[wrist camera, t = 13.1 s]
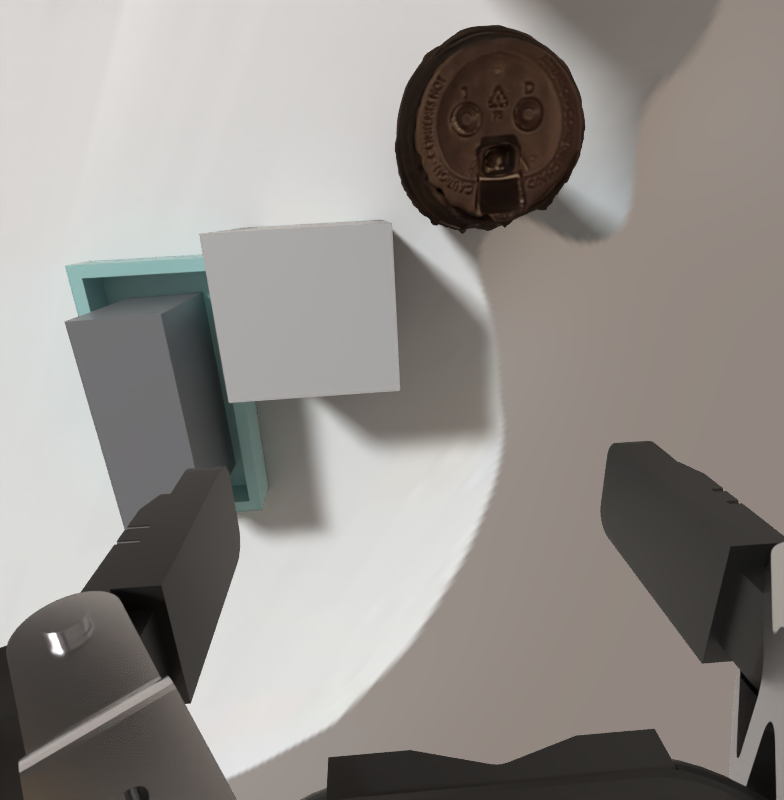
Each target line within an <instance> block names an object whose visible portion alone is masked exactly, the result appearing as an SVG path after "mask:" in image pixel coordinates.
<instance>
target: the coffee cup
mask: <svg viewBox="0 0 784 800" xmlns="http://www.w3.org/2000/svg"><path fill="white" fill-rule="evenodd" d="M584 130H585V119H584V112H583V109H582V99H581V95H580V92H579V90H578V88H577V85H576V83H575V81H574V79H573V77H572V75H571V72H570V70H569V68H568V66H567V65H566V64H565V62H564V61H563V60H562V59H560V58H559V57H558V56H557V55H556V54H555V53H554V52H552V51H551V50H550V49H549V48H548V47H546V46H545V45H543V44H541V43H540V42H538V41H537V40H535V39H534V38H533V37H532V36H530V35H528V34H526V33H523V32H521V31H518V30H515V29H510V28H506V27H504V26H500V25H491V26H476V27H470V28H466V29H463V30H460V31H459V32H457V33H456V34H455V35H453V36H452V37H450V38H449V39H448V40H446V41H445V42H444V43H443V44H442V45H440V46H438V47H436V48H434V49H433V50H431V51H430V52H428V53H427V54H426V55H425V56H424V58H423V61H422V62H421V64H420V65H419V66H418V68H417V69H416V71H415V72H414V74H413V75H412V77H411V78H410V80H409V82H408V84H407V85H406V88H405V91H404V94H403V97H402V101H401V105H400V109H399V113H398V119H397V137H396V142H395V153H396V160H397V165H398V172H399V176H400V178H401V184H402V186H403V188H404V190H405V191H406V193H407V196H408V197H409V199H410V200H411V201H412V204H413V205H414V206H415V207H416V208H417V209H418V210H419V212H420V213H421V214H423V215H424V216H426V217H428V218H429V219H430V220H431V223H432V224H433V225H436V226H437V225H438V224H440V225H443V226H444V227H449V228H451V229H455V230H459V231H460V233H461V234H463V233H464V232H465V231H466V229H468V228H477V229H483V230H487V231H489V230H492V229H494V228H496V227H498V226H501V225H502V226H504V227H506V226H507V225H508V224H510V223H511V222H512V221H513V220H514V219H516V218H518V217H521V216H523V215H525V214H528V213H529V212H531V211H534V210H536V209H538V210H546V209H547V207H548V206H549V205H550V204H551V203H552V201H553V199H554V197H555V195H557V194H558V192H559V191H560V189H561V188H562V187H563V185H564V183H567V182H568V180H569V177H570V175H571V173H572V171H573V169H574V167H575V166H576V164H577V161H578V159H579V157H580V151H581V148H582V143H583V140H584Z"/></svg>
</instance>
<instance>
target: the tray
mask: <svg viewBox="0 0 784 800" xmlns="http://www.w3.org/2000/svg"><path fill="white" fill-rule="evenodd" d="M65 268H66V271H67V275H68V279H69V283H70V286H71V290H72V294H73V298H74V302H75V305H76V309H77V313H78V316H81V315H84V314H86V313H89V312H92V311H94V310H97V309H100V308H102V307H105V306H108V305H110V304H113V303H116V302H118V301H121V300H124V299H126V298H134V297H147V296H160V295H174V294H187V293H200V292H203V296H204V301H205V306H206V311H207V316H208V322H209V327H210V332H211V337H212V343H213V348H214V353H215V358H216V363H217V369H218V374H219V379H220V384H221V390H222V395H223V400H224V405H225V410H226V416H227V421H228V426H229V431H230V437H231V442H232V447H233V452H234V457H235V463H236V464H235V466H234V468H233V471H232V473H231V475H230V479H231V485H232V491H233V497H234V502H235V508H236V512H242V511H254V510H262V508H263V505H264V502H265V499H266V496H267V493H268V490H269V487H268V480H267V474H266V468H265V461H264V455H263V448H262V442H261V435H260V429H259V422H258V416H257V409H256V403H255V401H249V402H235V403H229V402H228V396H227V390H226V385H225V379H224V373H223V367H222V362H221V356H220V350H219V344H218V339H217V333H216V327H215V321H214V315H213V310H212V304H211V298H210V292H209V287H208V281H207V275H206V269H205V264H204V258H203V255H188V256H171V257H154V258H137V259H120V260H103V261H89V262H83V263H78V264H72V265H67V266H65Z"/></svg>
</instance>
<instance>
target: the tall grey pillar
mask: <svg viewBox="0 0 784 800" xmlns="http://www.w3.org/2000/svg"><path fill="white" fill-rule="evenodd" d="M65 325H66V328H67V332H68V335H69V339H70V342H71V345H72V349H73V352H74V356H75V359H76V363H77V366H78V370H79V373H80V377H81V380H82V383H83V387H84V390H85V394H86V397H87V401H88V404H89V408H90V411H91V415H92V418H93V421H94V425H95V428H96V432H97V435H98V439H99V442H100V446H101V449H102V453H103V456H104V459H105V463H106V466H107V470H108V473H109V477H110V480H111V484H112V487H113V491H114V494H115V497H116V501H117V504H118V508H119V511H120V515H121V518H122V522H123V525H124V529H125V530H127V526H128V525H129V523H130V522H131V521H132V519H133V518H134V516H135V515H136V514H137V512H138V511H139V509H141V508H142V507H144V506H145V505H146V504H148V503H149V502H150V501H152V500H153V499H155V498H156V497H157V496H159V495H160V494H171V492H172V491H173V489H174V488H175V486H176V484H177V483H178V481H179V480H180V478H181V477H182V475H183V473H184V472H185V471H186V470H187V469H189V468H205V467H222V466H225V467H226V468H227V469H228V472H229V475H231V473H232V471H233V468H234V466H235V464H236V463H235V457H234V452H233V447H232V442H231V437H230V431H229V426H228V421H227V416H226V410H225V405H224V400H223V395H222V390H221V384H220V379H219V374H218V369H217V363H216V358H215V353H214V348H213V343H212V337H211V332H210V327H209V322H208V316H207V311H206V306H205V301H204V296H203V292H200V293H187V294H174V295H160V296H147V297H134V298H126V299H124V300H121V301H118V302H116V303H113V304H110V305H108V306H105V307H102V308H100V309H97V310H94V311H92V312H89V313H86V314H84V315H81V316H78V317H76V318H73V319H70V320H68V321H65Z"/></svg>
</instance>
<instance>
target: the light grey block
mask: <svg viewBox="0 0 784 800" xmlns="http://www.w3.org/2000/svg"><path fill="white" fill-rule="evenodd" d="M199 235H200V241H201V246H202V252H203V258H204V264H205V269H206V275H207V281H208V287H209V292H210V298H211V304H212V310H213V315H214V321H215V327H216V333H217V339H218V344H219V350H220V356H221V362H222V367H223V373H224V379H225V385H226V390H227V396H228V402H229V403H235V402H249V401H263V400H277V399H291V398H305V397H319V396H334V395H348V394H362V393H376V392H390V391H400V375H399V354H398V334H397V314H396V294H395V274H394V254H393V234H392V223H390V222H387V221H384V220H373V221H355V222H337V223H320V224H302V225H285V226H267V227H249V228H239V229H232V230H225V231H218V232H210V233H203V234H199Z"/></svg>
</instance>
